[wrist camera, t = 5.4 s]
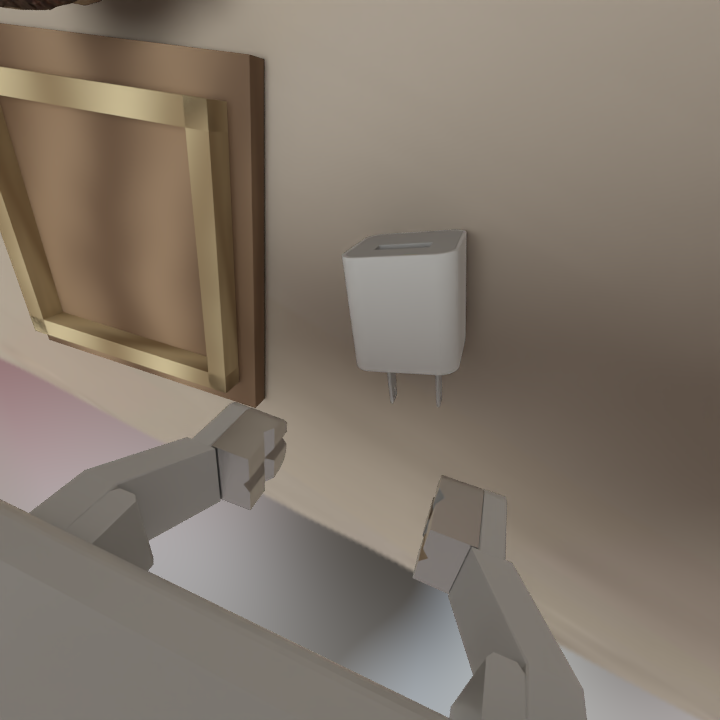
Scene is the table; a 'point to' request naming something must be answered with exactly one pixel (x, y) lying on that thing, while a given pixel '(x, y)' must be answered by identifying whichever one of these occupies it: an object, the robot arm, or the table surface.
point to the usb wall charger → (408, 303)
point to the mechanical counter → (41, 4)
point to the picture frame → (138, 202)
